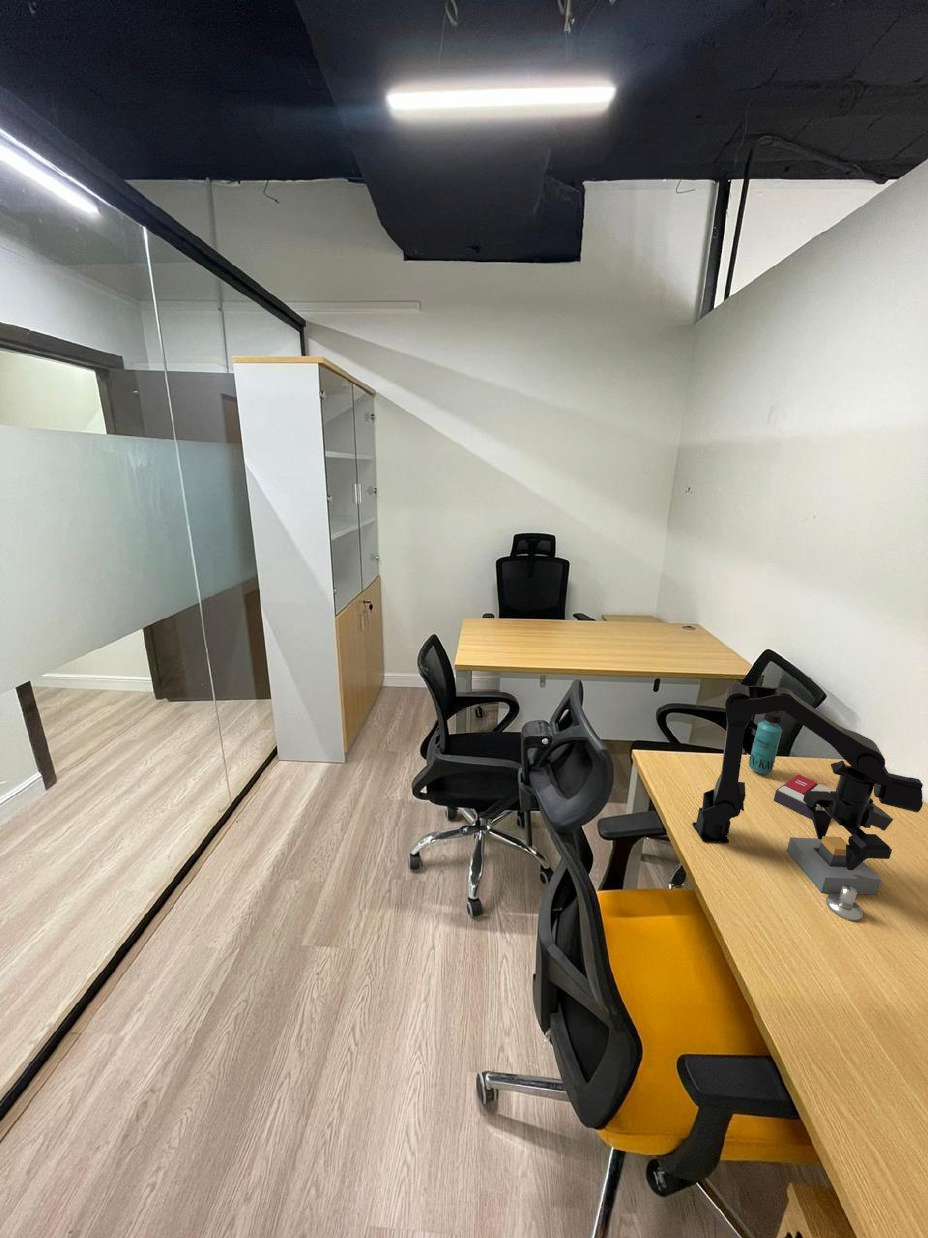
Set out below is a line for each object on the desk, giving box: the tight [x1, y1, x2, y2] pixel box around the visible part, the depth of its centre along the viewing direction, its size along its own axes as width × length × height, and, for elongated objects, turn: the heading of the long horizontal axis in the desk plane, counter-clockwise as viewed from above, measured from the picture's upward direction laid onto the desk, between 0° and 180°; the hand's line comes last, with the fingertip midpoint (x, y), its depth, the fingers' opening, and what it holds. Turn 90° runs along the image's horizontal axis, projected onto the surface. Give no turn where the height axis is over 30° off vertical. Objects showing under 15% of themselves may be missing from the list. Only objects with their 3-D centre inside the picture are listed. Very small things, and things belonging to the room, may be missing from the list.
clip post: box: [825, 885, 864, 922], centre depth 100 cm, size 6×6×5 cm
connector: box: [818, 835, 849, 867], centre depth 109 cm, size 4×4×8 cm
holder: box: [786, 836, 883, 895], centre depth 110 cm, size 12×12×4 cm
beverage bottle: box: [748, 711, 783, 775], centre depth 145 cm, size 6×7×20 cm
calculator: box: [773, 774, 836, 821], centre depth 134 cm, size 11×4×15 cm
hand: (834, 853), depth 109 cm, fingers open, 9 cm apart
